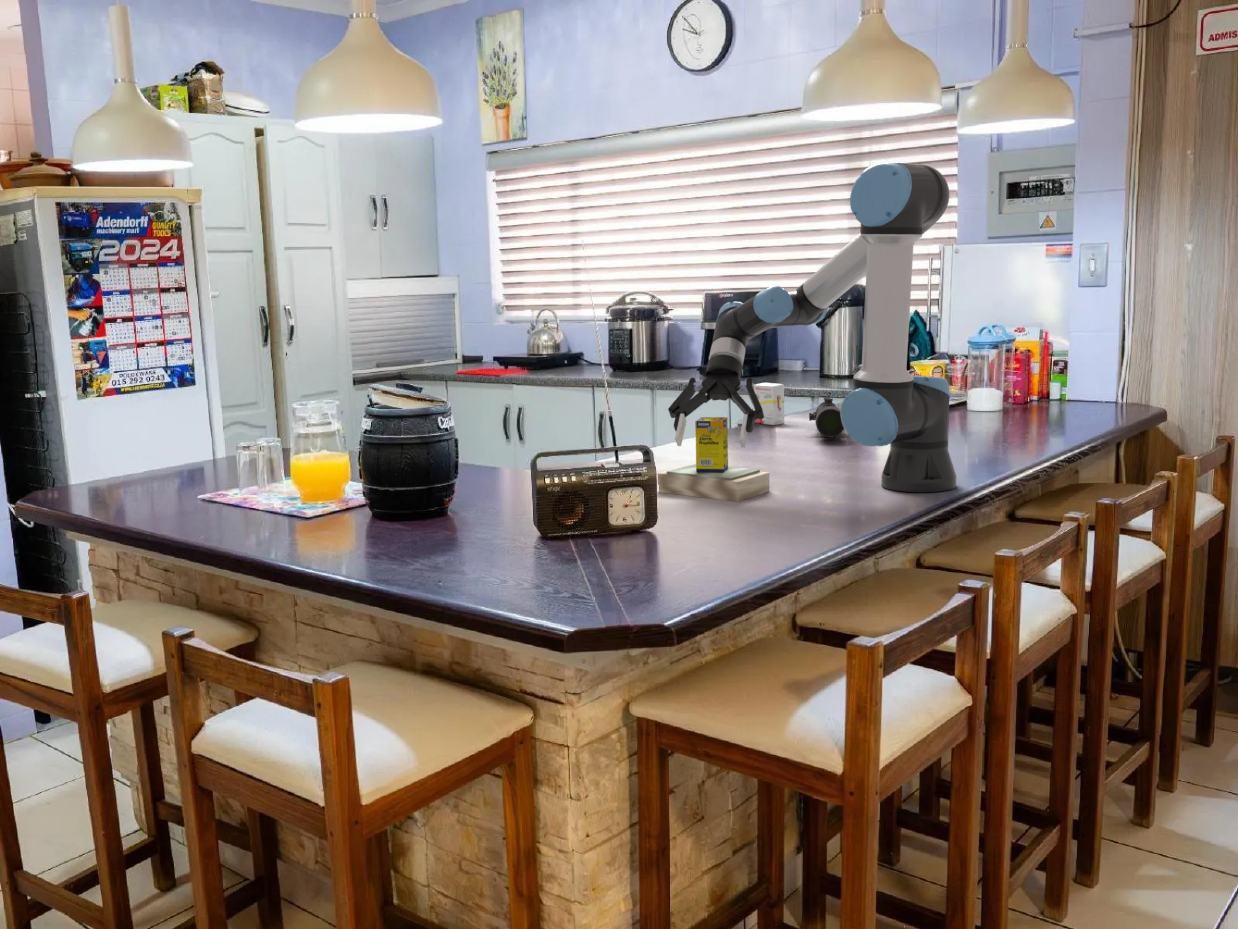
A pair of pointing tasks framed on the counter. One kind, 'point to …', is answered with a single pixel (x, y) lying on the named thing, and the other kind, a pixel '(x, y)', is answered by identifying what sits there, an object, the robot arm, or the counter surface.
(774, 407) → the ink box
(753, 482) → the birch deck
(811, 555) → the counter surface
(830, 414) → the rifle scope
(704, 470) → the supplement box
